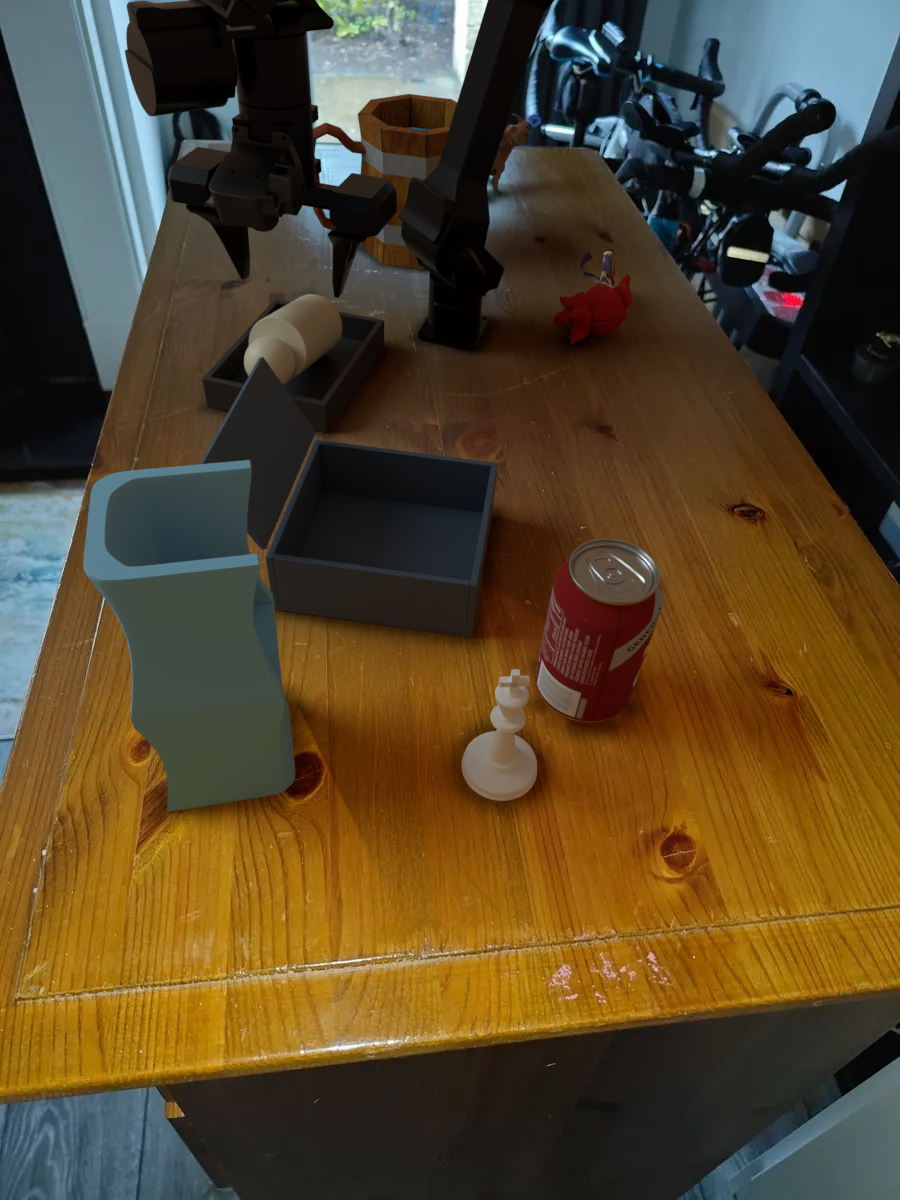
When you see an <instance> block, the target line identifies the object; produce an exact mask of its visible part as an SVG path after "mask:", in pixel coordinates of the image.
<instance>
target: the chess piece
mask: <svg viewBox="0 0 900 1200" xmlns="http://www.w3.org/2000/svg"><path fill="white" fill-rule="evenodd" d="M498 677H499V678H498V684H497V686H496V688H495V689H494V697H495V702H496V704H497V705H495V706H494V707H493V709H492V710H491V712H490V715H489V718H490V723H491V725H492V726H493V727H494V729H496V730H491V731H486V732H484V733H481V734H479V735H477V736H476V737H474V738H473V739H472V740H471V741H470V742H469V743H468V745H467V746H466V749H465V750H464V753H463V755H462V759H461V773H462V776H463V779H464V780H465V782H466V784H467V785H468V786H469V788H470V789H471V790H473V791H474V793H476V794H478V795H479V796H481V797H483V798H484V799H485V798H486V799H488V800H492V801H495V802H496V801H497V802H506V801H513V800H516V799H518V798H521V797H523V796H524V795H526V794H527V793H528V792H529V791H530V790H531V789H532V788H533V786H534V784H535V783H536V780H537V776H538V760H537V756H536V753H535V751H534V749H533V748H532V747H531V745H530V744H529V743H528V742H527V741H526V740H525V739H523V738H522V737H521V736H519V735H517V734H516V733H517V732H519V731H521V730H522V729H523V728H524V727H525V725H526V721H527V720H526V719H527V718H526V714H525V712H524V711H525V710H524V708H525V707H526V705H527V703H528V702H529V700H530V691H529V689H528V687H530V683H531V681H530V676H529V675H521V672H520V668H517V669H516V668H515V669H511V670H510V676H498Z"/></svg>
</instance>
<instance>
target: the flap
mask: <svg viewBox="0 0 900 1200" xmlns="http://www.w3.org/2000/svg"><path fill="white" fill-rule="evenodd" d="M316 432H317V431H315V430H314V429H313V427H312V426H311V424H310V423H309V422H308V420H307V419H306V417H305V416H304V414H303V413H302V412H301V410H300V409H299V407H298V406H297V404H296V403H295V402H294V400H293V399H292V397H291V396H290V395H289V393H288V392H287V390H286V389H285V387H284V386H283V385H282V383H281V382H280V380H279V379H278V377H277V376H276V375H275V373H274V372H273V370H272V369H271V367H270V366H269V365H268V363H267V362H266V360H265V359H264V358H263V357H261V358H259V359H258V361H257V363H256V364H255V366H254V368H253V370H252V372H251V373H250V375H249V377H248V379H247V380H246V382H245V384H244V386H243V387H242V389H241V391H240V393H239V395H238V396H237V398H236V400H235V402H234V403H233V405H232V407H231V409H230V411H227V414H226V415H225V418H224V419H223V421H222V423H221V425H220V427H219V428H218V430H217V432H216V434H215V435H214V437H213V439H212V440H211V442H210V444H209V446H208V448H207V449H206V451H205V453H204V455H203V456H202V458H201V460H200V462H199V464H209V463H221V462H232V461H243V460H250V461H251V468H252V475H251V484H250V493H249V502H248V514H247V535H248V536H249V537H250V538H251V539H252V541H254V542H255V544H256V545H257V547H259V549H260V550H261V551H263V550H266V549H267V547H268V545H269V543H270V541H271V538H272V536H273V533H274V531H275V529H276V527H277V524H278V522H279V519H280V517H281V515H282V513H283V510H284V507H285V506H286V503H287V501H288V499H289V496H290V494H291V491H292V489H293V486H294V484H295V482H296V480H297V477H298V475H299V473H300V470H301V468H302V465H303V464H304V461H305V459H306V457H307V453H308V451H309V449H310V447H311V445H312V442H313V440H314V437H315V435H316Z"/></svg>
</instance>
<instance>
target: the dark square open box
mask: <svg viewBox="0 0 900 1200" xmlns="http://www.w3.org/2000/svg"><path fill="white" fill-rule="evenodd" d="M498 465H499V462H492V461H485V460H478V459H469V458H462V457H461V458H460V457H453V456H445V455H440V454H439V455H438V454H431V453H423V452H415V451H408V450H401V449H400V450H399V449H392V448H384V447H376V446H370V445H369V446H368V445H367V446H366V445H361V444H353V443H345V442H338V441H329V440H324V439H323V440H321V439H314V442H313V444H312V446H311V449H310V452H309V455H308V456H307V458H306V461H305V464H304V465H303V468H302V470H301V472H300V475H299V478H298V480H297V482H296V485H295V487H294V489H293V492H292V494H291V497H290V498H289V501H288V503H287V506H286V508H285V510H284V513H283V515H282V518H281V520H280V523H279V524H278V527H277V529H276V532H275V534H274V536H273V539H272V541H271V544H270V545H269V548H268V550H267V552H266V555H265V561H266V568H267V574H268V575H267V576H268V581H269V587H270V588H269V589H270V591H271V592H272V593H273V600H274V607H275V611H282V612H290V613H296V614H303V615H311V616H316V617H324V618H333V619H338V620H339V619H340V620H345V621H351V622H353V621H354V622H360V623H368V624H374V625H381V626H387V627H388V626H389V627H395V628H403V629H409V630H414V631H415V630H416V631H424V632H430V633H438V634H445V635H452V636H459V637H466V638H472V637H473V632H474V626H475V621H476V614H477V608H478V602H479V597H480V596H479V595H480V592H481V591H480V590H481V584H482V577H483V571H484V567H485V562H486V561H485V560H486V555H487V547H488V542H489V535H490V531H491V523H492V517H493V511H494V502H495V493H496V483H497V477H498V476H497V475H498V467H499V466H498Z"/></svg>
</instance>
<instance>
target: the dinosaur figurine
mask: <svg viewBox="0 0 900 1200" xmlns="http://www.w3.org/2000/svg"><path fill="white" fill-rule="evenodd" d="M511 116H513V117H514V118H515V119H516V120H517V122H518V123H517V124H514V123H510V124H507V126H506V129H505V132H504V135H503V138H502V141H501V144H500V147H499V150H498V153H497V156H496V159H495V162H494V164H493V167H492V170H491V173H490V177H492V178H491V186H492V190H493V193H495V194H496V195H503V192H501V190H499V181H500V179H501V177H502V174H503V173H504V172H505V170H506V163H507V161H508V159H509V157H510V155H511V154H512V152H513V150H514V149H515V148H516V147H519V146H520V144H528V143H529V142H530V140H531V139H530V137H529V136H530V133H529V131H532V130H533V126H532V124H531V123H529V122H528V121H526V120H523V119H522V117H521V116H520V115H518V114H517V113H511ZM488 200H490V197H489V196H488Z"/></svg>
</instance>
